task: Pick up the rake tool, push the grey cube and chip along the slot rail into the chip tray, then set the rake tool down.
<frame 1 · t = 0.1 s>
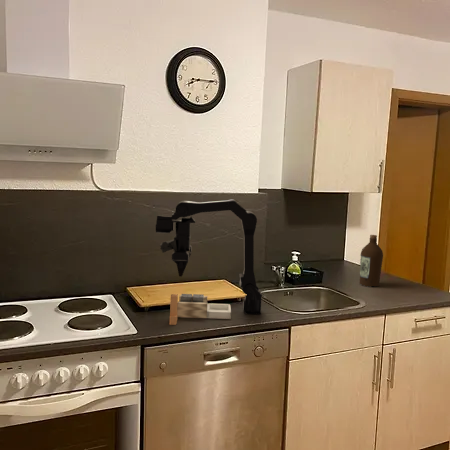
hand: (181, 273, 186), 15 cm above the countertop, tool pointing down, fingers open, 9 cm apart
olive oil: (368, 285, 238), on the countertop
rake tool: (173, 321, 174), on the countertop
slot rail: (192, 313, 185), on the countertop
grey cube: (186, 305, 184), point 3 cm above the countertop, touching slot rail
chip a: (197, 305, 184), point 3 cm above the countertop, touching slot rail
chip tray: (218, 314, 185), on the countertop
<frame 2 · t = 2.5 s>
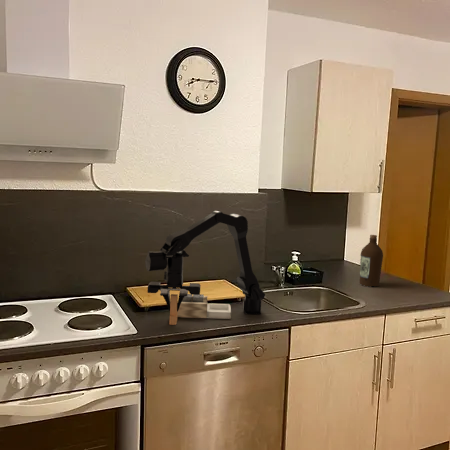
hand: (173, 311, 174), 4 cm above the countertop, tool pointing down, fingers closed on rake tool, 2 cm apart
rake tool: (173, 321, 174), on the countertop, touching gripper
everything else where it was.
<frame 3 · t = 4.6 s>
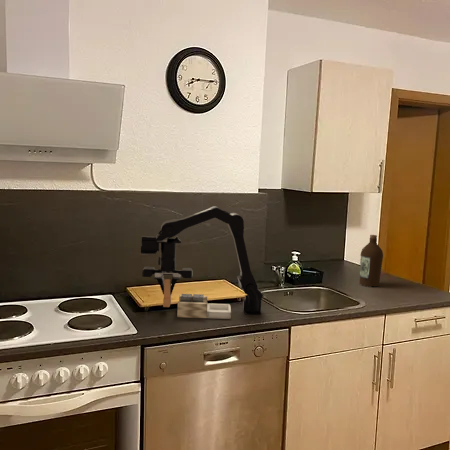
hand: (167, 294, 183), 7 cm above the countertop, tool pointing down, fingers closed on rake tool, 2 cm apart
rake tool: (167, 304, 184), point 3 cm above the countertop, touching gripper
everything else where it was.
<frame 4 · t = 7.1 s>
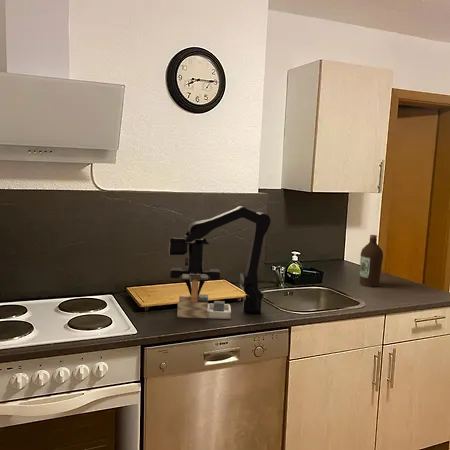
hand: (194, 295, 184), 7 cm above the countertop, tool pointing down, fingers closed on rake tool, 2 cm apart
rake tool: (194, 305, 184), point 3 cm above the countertop, touching gripper
grey cube: (202, 306, 184), point 3 cm above the countertop, touching slot rail
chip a: (213, 307, 184), point 3 cm above the countertop, tilted 90°, touching chip tray
everything else where it was.
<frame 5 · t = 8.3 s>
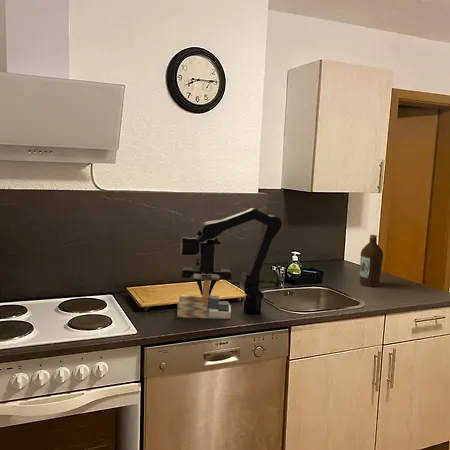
hand: (205, 295, 184), 7 cm above the countertop, tool pointing down, fingers closed on rake tool, 2 cm apart
rake tool: (204, 305, 184), point 3 cm above the countertop, touching grey cube, gripper
grey cube: (212, 307, 184), point 3 cm above the countertop, touching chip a, rake tool
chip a: (218, 307, 184), point 3 cm above the countertop, tilted 90°, touching grey cube, chip tray
everything else where it was.
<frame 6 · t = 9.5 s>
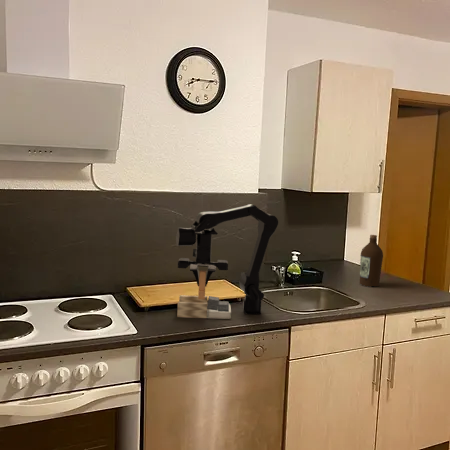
hand: (202, 286, 182), 11 cm above the countertop, tool pointing down, fingers closed on rake tool, 2 cm apart
rake tool: (201, 296, 182), point 7 cm above the countertop, touching gripper
grey cube: (212, 308, 184), point 2 cm above the countertop, tilted 7°, touching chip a, chip tray, slot rail
everything else where it was.
when the fingers open (5 cm above the countertop, at t = 11.5 s): rake tool stays where it is, on the countertop.
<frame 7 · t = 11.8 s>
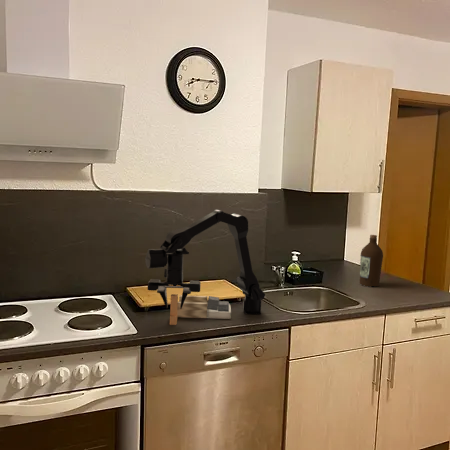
hand: (173, 308, 174), 5 cm above the countertop, tool pointing down, fingers open, 5 cm apart
rake tool: (173, 321, 174), on the countertop
everything else where it was.
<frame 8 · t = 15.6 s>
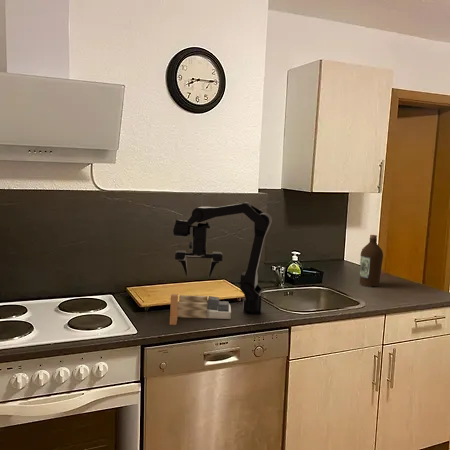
hand: (198, 276, 193), 12 cm above the countertop, tool pointing down, fingers open, 9 cm apart
nothing on the countertop moved.
at the end: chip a inside the target area (0.8 cm from its centre), point 2.6 cm above the countertop; grey cube inside the target area (3.0 cm from its centre), point 2.4 cm above the countertop; rake tool inside the target area (0.1 cm from its centre), on the countertop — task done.
